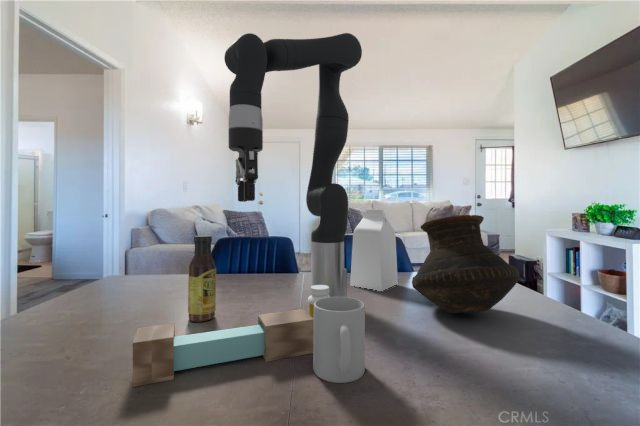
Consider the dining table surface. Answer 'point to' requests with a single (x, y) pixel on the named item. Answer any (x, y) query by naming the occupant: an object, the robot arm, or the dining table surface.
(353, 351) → the mug
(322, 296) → the supplement bottle
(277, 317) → the wooden block
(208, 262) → the sauce bottle
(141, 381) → the socket
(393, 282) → the milk
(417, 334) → the dining table surface
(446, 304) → the ceramic pot
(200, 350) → the long turquoise beam
